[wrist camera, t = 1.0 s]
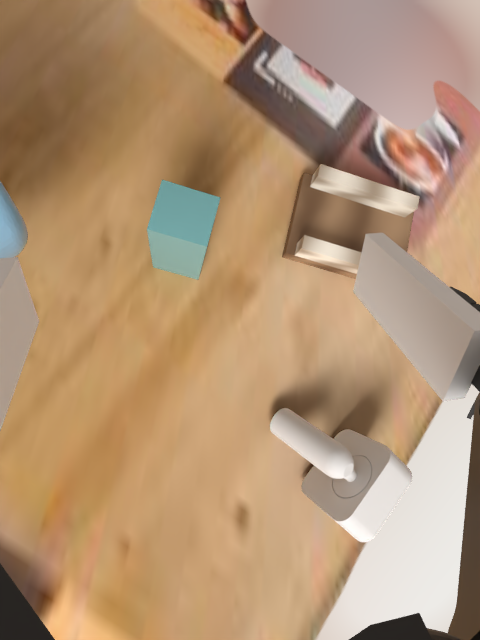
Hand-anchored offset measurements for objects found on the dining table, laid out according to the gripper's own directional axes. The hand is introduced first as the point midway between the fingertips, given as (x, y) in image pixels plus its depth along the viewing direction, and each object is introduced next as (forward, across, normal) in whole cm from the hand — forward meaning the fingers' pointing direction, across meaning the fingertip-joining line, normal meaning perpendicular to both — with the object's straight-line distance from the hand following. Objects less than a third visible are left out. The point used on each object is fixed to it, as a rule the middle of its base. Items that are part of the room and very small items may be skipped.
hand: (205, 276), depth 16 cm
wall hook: (+11, +12, -29) cm, 33 cm away
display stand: (+27, +20, -11) cm, 36 cm away
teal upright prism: (+26, 0, -12) cm, 29 cm away
